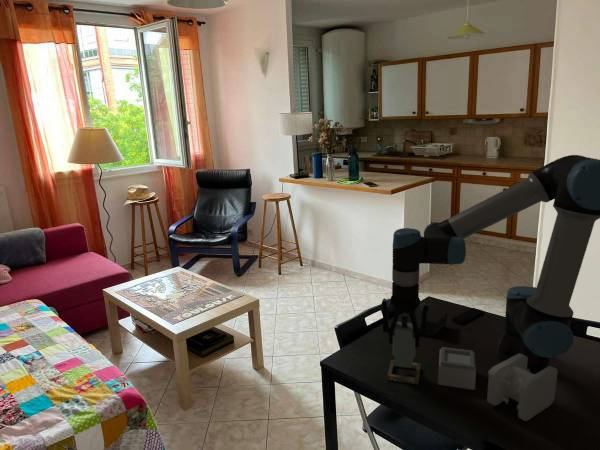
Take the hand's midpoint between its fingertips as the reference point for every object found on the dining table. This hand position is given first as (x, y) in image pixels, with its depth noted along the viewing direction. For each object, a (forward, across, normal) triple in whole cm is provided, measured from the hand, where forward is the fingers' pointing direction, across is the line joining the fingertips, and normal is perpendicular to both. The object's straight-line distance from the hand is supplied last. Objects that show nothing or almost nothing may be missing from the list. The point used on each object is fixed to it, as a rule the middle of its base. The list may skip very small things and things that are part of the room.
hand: (403, 354), depth 134 cm
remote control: (+7, -19, -44) cm, 49 cm away
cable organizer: (+7, -31, +7) cm, 33 cm away
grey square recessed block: (+7, -15, -2) cm, 17 cm away
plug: (+3, 0, 0) cm, 3 cm away
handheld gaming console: (+7, -7, -30) cm, 32 cm away
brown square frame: (+7, 0, 0) cm, 7 cm away
